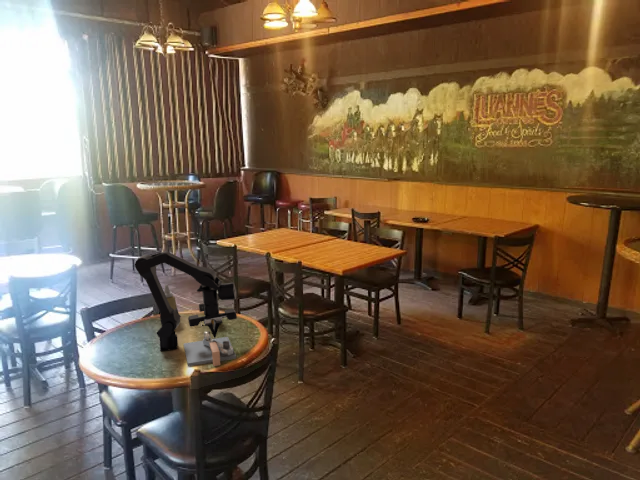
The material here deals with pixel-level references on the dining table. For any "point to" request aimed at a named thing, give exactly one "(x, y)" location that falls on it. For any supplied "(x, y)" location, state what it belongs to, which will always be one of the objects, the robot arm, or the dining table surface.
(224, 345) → the swing arm
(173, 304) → the squeeze bottle
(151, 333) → the dining table surface
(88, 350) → the dining table surface
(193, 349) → the slate board
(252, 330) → the dining table surface
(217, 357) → the bracket
